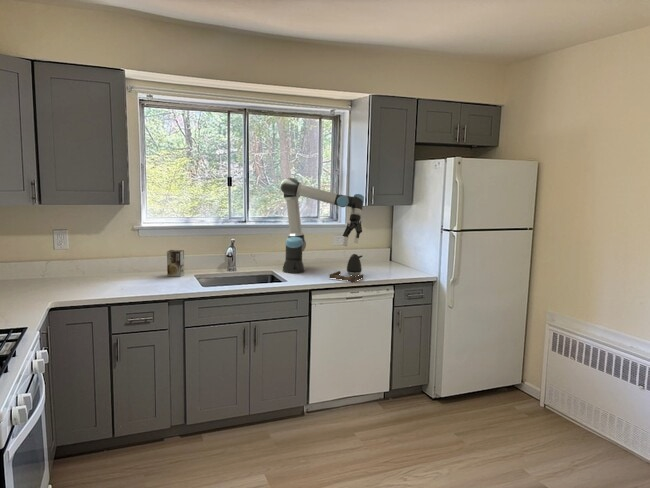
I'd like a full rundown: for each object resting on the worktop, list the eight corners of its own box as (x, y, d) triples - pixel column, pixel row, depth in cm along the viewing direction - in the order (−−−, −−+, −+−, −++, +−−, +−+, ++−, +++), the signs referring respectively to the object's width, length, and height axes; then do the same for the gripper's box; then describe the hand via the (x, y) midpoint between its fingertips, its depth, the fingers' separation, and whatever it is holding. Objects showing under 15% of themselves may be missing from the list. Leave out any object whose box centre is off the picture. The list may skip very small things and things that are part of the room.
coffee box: (184, 274, 311) (184, 250, 309) (180, 276, 304) (180, 251, 302) (171, 274, 312) (170, 249, 310) (166, 276, 305) (166, 251, 303)
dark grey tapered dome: (362, 277, 322) (363, 255, 320) (346, 277, 322) (347, 254, 320) (361, 274, 332) (362, 253, 330) (346, 274, 332) (347, 252, 330)
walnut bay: (329, 278, 315) (329, 274, 314) (338, 275, 327) (339, 271, 327) (354, 282, 306) (354, 277, 306) (363, 278, 319) (363, 274, 318)
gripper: (370, 213, 327) (365, 243, 321) (349, 221, 348) (344, 248, 342) (361, 210, 324) (356, 239, 317) (341, 217, 345) (335, 245, 338)
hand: (350, 244), depth 330 cm, fingers open, 13 cm apart
